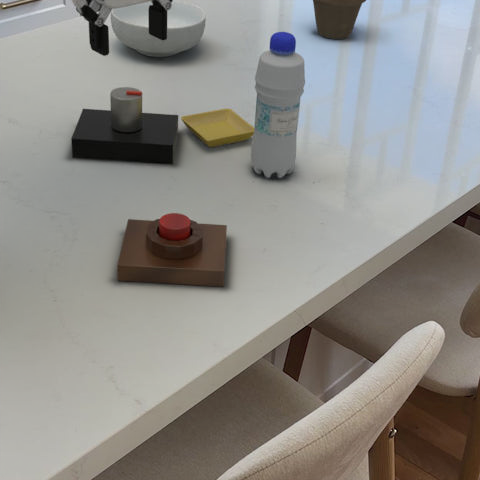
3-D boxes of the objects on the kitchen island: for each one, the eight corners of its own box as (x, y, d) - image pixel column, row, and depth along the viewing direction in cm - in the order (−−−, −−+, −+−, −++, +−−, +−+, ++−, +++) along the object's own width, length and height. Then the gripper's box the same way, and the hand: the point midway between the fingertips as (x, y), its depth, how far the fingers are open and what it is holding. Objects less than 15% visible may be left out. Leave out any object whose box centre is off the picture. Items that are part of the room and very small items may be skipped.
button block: (117, 280, 101) (117, 251, 98) (128, 234, 109) (127, 206, 107) (223, 286, 101) (225, 257, 99) (225, 240, 110) (227, 212, 107)
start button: (157, 241, 101) (157, 228, 100) (160, 224, 104) (160, 212, 103) (189, 243, 102) (189, 230, 101) (191, 226, 105) (191, 213, 104)
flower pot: (323, 47, 168) (329, -6, 163) (293, 27, 176) (298, -24, 171) (373, 41, 174) (381, -11, 168) (342, 22, 181) (348, -28, 176)
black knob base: (72, 157, 124) (71, 138, 122) (83, 127, 132) (82, 108, 130) (172, 164, 125) (173, 145, 123) (177, 133, 133) (178, 115, 131)
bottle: (263, 185, 122) (274, 44, 110) (239, 164, 126) (248, 27, 115) (304, 177, 125) (320, 39, 113) (280, 156, 129) (293, 22, 118)
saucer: (257, 143, 132) (258, 130, 131) (206, 153, 128) (207, 140, 127) (228, 120, 138) (229, 107, 137) (179, 129, 134) (179, 116, 133)
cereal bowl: (178, 74, 152) (179, 34, 148) (93, 54, 156) (92, 14, 152) (219, 44, 165) (221, 7, 161) (140, 27, 169) (140, -11, 165)
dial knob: (109, 131, 125) (108, 96, 122) (113, 118, 128) (112, 83, 125) (140, 133, 125) (140, 98, 122) (143, 120, 129) (143, 86, 126)
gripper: (161, -104, 116) (161, 24, 126) (49, -89, 106) (58, 49, 115) (200, -91, 112) (196, 40, 122) (86, -74, 102) (93, 68, 111)
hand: (129, 44), depth 119 cm, fingers open, 9 cm apart
